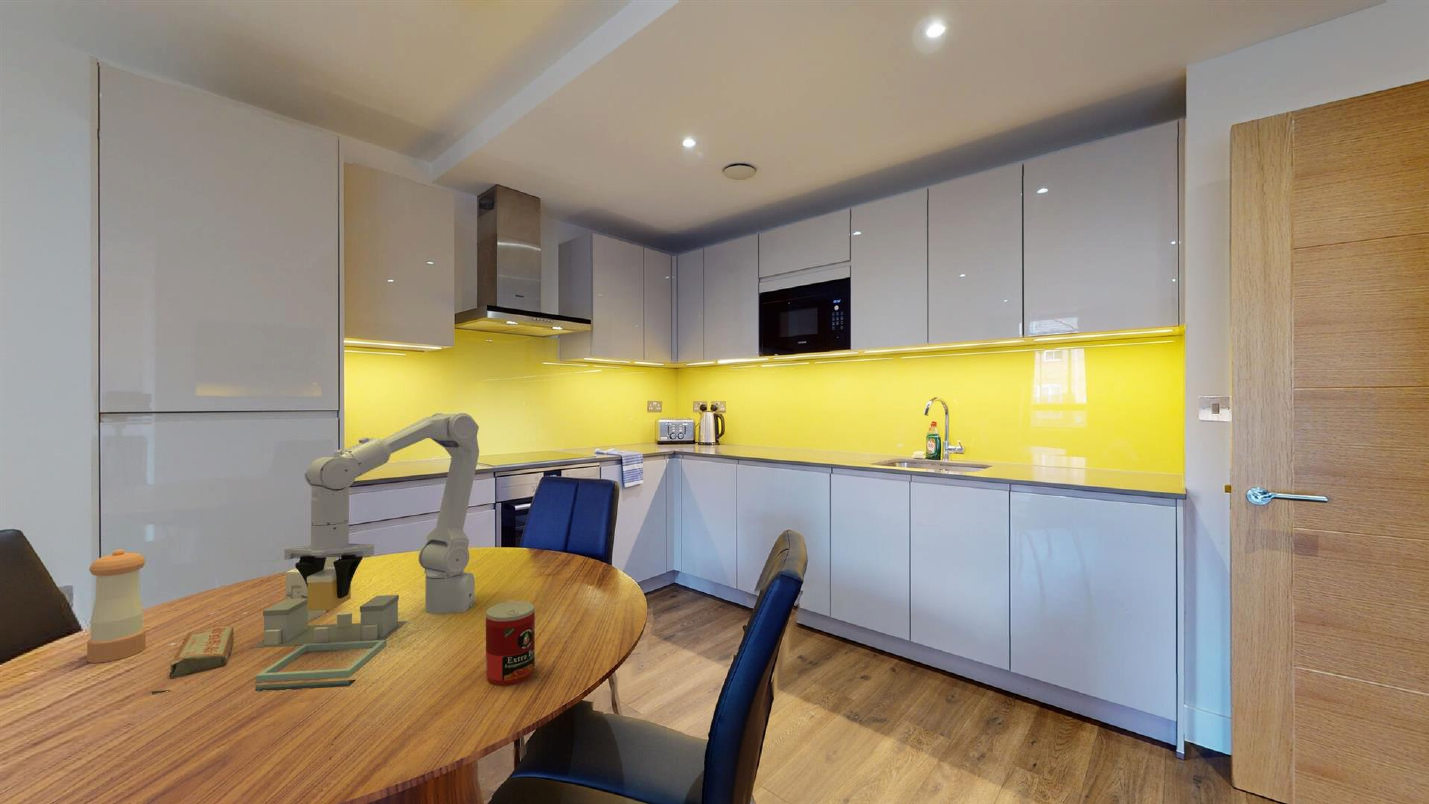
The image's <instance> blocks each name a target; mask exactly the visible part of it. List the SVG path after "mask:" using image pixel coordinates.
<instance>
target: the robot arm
mask: <svg viewBox="0 0 1429 804" xmlns="http://www.w3.org/2000/svg"><path fill="white" fill-rule="evenodd" d="M479 428H480V427H479V425H478V423H477V422H476V421H475V420H474V418H473V417H472V416H471V415H470V414H468V413H465V412H459V413H442V412H441V413H438V412H437V413H434V414H432V415H430V416H425V417H423V418H421V419H419V420H418V421H415V422H414V423H412V424H409V425H407V426H406V427H404V428H402V429H400V430H399V431H396V432H394V433H393V434H390V435H388V436H387V437H384V438H382V439H380V438H377V437H366V436H365V437H362V438H359V439H358V443H356V444H355V445H351V446H349V447H347V448H345V449H343V450H342V449H336V450H334V451H333V455H332V456H323V457H319V458H316V459H315V460H314V461H312V462H311V464H310V465H309V466H308V468H307V471H306V472H305V473H304V480H305V481H306V483H307V484H308V485H309V486H310V487H311V492H310V493H311V498H310V500H311V501H310V545H309V544H308V545H298V546H295V545H294V546H290V547H287V548H284V549H283V550H284V552H283V553H284V557H283V558H284V560H285V561H287V560H293V559H299V560H298V562H296V563H294V565H295V569H297V570H298V571H299V572H300V574H301V575H302V577H303V579H304V580H305V583H306V585H307V588H308V583H307V577H308V576H310V575H313V574H315V573H317V572H319V571H321V570H324V565H325V561H326V558H327V557H336V558H339V559H336V561H334V562H333V564H334V567H335V571H336V576H337V596H338V598H343V597H345V596H347V595H348V592H349V588H350V584H351V585H352V581H353V578H354V576H355V573H356V571H357V569H358V567H359V565H360V564H361V562H362V560H363V558H369V557H371V556H374V555H375V544H371V543H366V544H365V543H354V542H353V543H352V542H349V541H350V539H349V537H350V534H349V533H350V529H349V528H350V486H352V484H353V483H354V482H355V480H356V478H359V477H360V476H363V475H364V474H367V473H369V472H372V471H373V470H375V469H376V468H379V467H381V466H382V465H383V466H384V465H385V464H387V463H388V462H389V460H390V458H391V454H394V453H396V452H398V451H401V450H403V449H405V448H407V447H409V446H412V445H414V444H417V443H419V442H422V441H424V440H426V439H431V440H432V441H433V442H435V443H436V444H438V445H439V446H441V447H442V448H444V449H445V450H446V452H447V453H448V455H450V457H451V458H450V463H449V466H448V467H449V468H448V472H447V478H446V481H445V485H444V486H445V487H444V491H443V495H442V499H441V503H440V508H439V512H438V518H437V522H436V526H435V527H434V528H433V530H432V531H430V532H429V533H428V535H427V536H426V540H425V542H424V543H423V544H424V545H423V546H422V547H421V549H420V551H419V553H418V563H419V565H420V566H421V567H422V569H424V575H425V582H424V583H425V585H424V586H425V590H424V593H425V598H424V599H425V604H424V605H425V610H424V611H425V613H426V614H430V615H442V614H449V613H451V614H452V613H465V612H467V611H468V610H469V609H470V608H472V607H473V605H474V604H475V601H476V600H475V594H476V593H475V589H476V587H475V582H476V581H475V575H474V573H472V572H465V569H466V568H467V566H468V564H469V562H470V553H469V552H470V551H469V543H470V539H469V537H468V536H467V535H466V533H465V532H464V531H465V530H464V527H465V521H466V518H467V513H468V512H467V511H468V508H469V503H470V497H471V494H472V488H473V485H474V484H473V483H474V481H475V480H474V479H475V473H476V471H477V470H476V469H477V464H478V460H479V456H480V448H479V440H478V433H479Z"/></svg>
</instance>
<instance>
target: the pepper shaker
mask: <svg viewBox="0 0 1429 804" xmlns="http://www.w3.org/2000/svg"><path fill="white" fill-rule="evenodd" d="M146 562H147V561H146V558H145V556H143V554H141V553H137V552H125V550H124V549H116V550H113V552H111V554H108V555H107V554H106V555H103V556H102V557H99V558H97V559H96V560H94V561H93V563H91V564H90V567H89V569H88V570H89V572H90V574H91V575H92V576H95V599H94V604H93V609H92V613H91V617H90V621H89V623H90V624H89V625H90V638H89V639H88V641H87V645H86V646H87V649H86V651H87V652H86V654H87V655H86V662H88V663H92V664H94V663H95V664H97V663H100V664H101V663H106V662H113V661H116V660H117V661H118V660H122V659H125V658H129V657H131V656H134V655H136V654H139V653H141V652H143V651H144V650H146V633H147V632H146V630H147V629H146V628H144V625H143V624H144V608H143V602H142V598H141V593H140V570H141V569H143V568H144V566H145V564H146Z"/></svg>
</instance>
